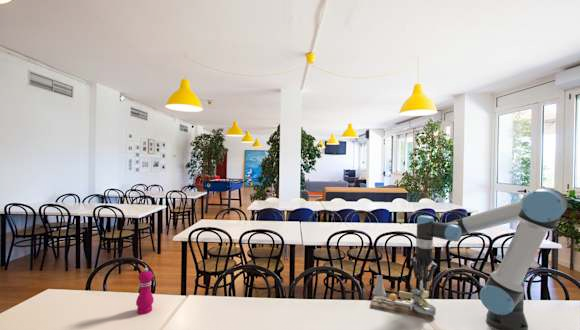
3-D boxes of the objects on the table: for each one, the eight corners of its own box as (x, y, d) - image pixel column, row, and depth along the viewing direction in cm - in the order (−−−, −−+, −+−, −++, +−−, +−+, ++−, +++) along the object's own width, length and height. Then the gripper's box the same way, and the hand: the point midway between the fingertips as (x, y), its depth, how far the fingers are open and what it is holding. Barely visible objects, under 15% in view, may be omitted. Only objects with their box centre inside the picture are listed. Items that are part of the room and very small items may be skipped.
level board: (430, 308, 147) (430, 303, 147) (431, 319, 136) (431, 314, 136) (374, 297, 157) (374, 292, 157) (370, 307, 146) (371, 302, 146)
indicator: (412, 303, 148) (412, 294, 148) (412, 310, 141) (412, 300, 141) (389, 299, 152) (390, 289, 152) (388, 305, 145) (388, 296, 145)
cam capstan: (397, 303, 147) (397, 287, 147) (413, 297, 155) (413, 281, 155) (427, 318, 134) (428, 300, 134) (444, 310, 141) (444, 293, 141)
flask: (386, 298, 157) (387, 279, 157) (372, 296, 159) (373, 277, 159) (385, 292, 164) (385, 274, 164) (371, 290, 166) (372, 273, 166)
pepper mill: (132, 312, 135) (133, 268, 135) (146, 305, 142) (147, 264, 142) (142, 316, 132) (143, 271, 132) (156, 309, 138) (157, 266, 138)
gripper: (408, 245, 150) (406, 291, 150) (433, 251, 140) (431, 300, 141) (415, 242, 155) (413, 287, 155) (440, 248, 145) (438, 296, 146)
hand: (422, 293), depth 148 cm, fingers closed
